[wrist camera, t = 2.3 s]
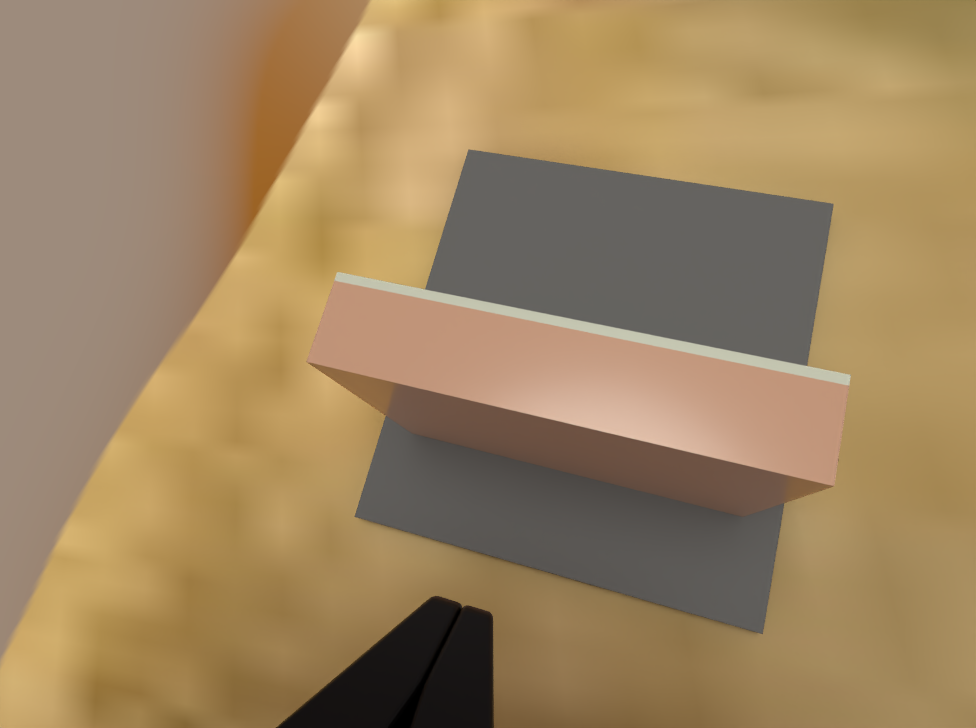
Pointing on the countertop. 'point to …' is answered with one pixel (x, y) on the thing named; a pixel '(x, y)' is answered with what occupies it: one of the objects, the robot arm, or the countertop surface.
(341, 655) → the countertop surface
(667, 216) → the mat
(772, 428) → the tile
